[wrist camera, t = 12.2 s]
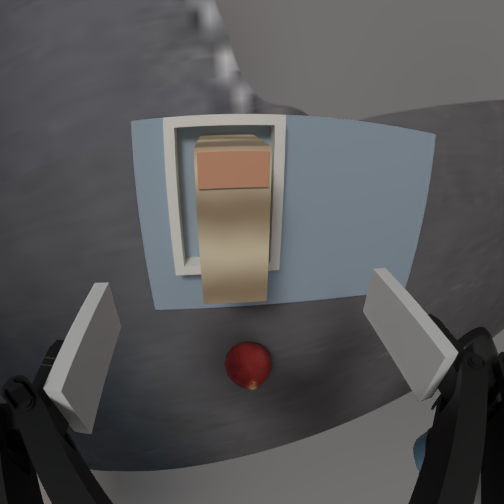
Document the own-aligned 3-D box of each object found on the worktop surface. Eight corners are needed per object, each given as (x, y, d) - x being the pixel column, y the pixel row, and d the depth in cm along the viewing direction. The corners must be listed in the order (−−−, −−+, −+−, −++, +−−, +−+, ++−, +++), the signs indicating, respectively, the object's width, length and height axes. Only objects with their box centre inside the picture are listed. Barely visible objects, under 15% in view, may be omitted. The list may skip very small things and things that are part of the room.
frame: (281, 114, 27) (286, 115, 25) (275, 261, 34) (279, 270, 32) (166, 117, 26) (162, 117, 24) (177, 266, 33) (175, 275, 31)
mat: (434, 134, 29) (435, 134, 29) (403, 288, 39) (404, 289, 39) (131, 120, 25) (131, 121, 25) (155, 308, 35) (155, 309, 35)
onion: (250, 363, 42) (258, 407, 35) (216, 351, 40) (218, 396, 33) (274, 337, 40) (286, 382, 33) (238, 323, 38) (245, 369, 31)
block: (251, 246, 33) (267, 302, 24) (205, 248, 32) (203, 306, 23) (252, 134, 27) (272, 146, 18) (200, 135, 27) (193, 148, 18)
